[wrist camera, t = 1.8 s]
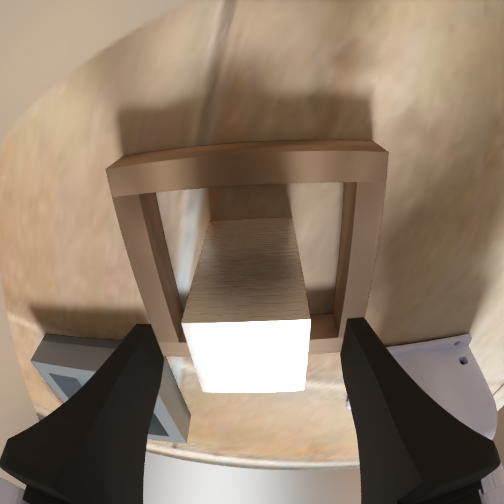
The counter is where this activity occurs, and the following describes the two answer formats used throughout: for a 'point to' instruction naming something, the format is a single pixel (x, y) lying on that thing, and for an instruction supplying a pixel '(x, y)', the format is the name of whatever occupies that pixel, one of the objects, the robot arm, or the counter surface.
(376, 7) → the counter surface
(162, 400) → the tray
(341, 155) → the brown flat square frame
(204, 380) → the brushed metal top block
